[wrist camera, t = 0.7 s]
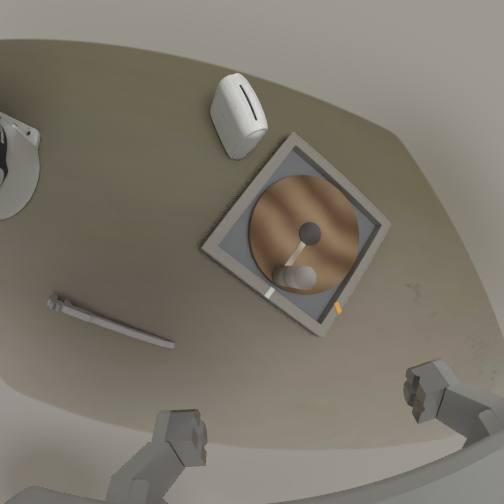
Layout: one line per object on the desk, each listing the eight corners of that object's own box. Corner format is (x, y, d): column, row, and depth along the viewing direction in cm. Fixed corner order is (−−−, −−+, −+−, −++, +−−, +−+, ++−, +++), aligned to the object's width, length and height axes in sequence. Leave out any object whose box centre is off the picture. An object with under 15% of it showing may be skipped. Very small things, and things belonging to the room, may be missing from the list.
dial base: (198, 248, 49) (201, 247, 46) (286, 138, 54) (293, 130, 50) (314, 335, 54) (323, 339, 50) (382, 226, 58) (393, 224, 55)
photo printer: (205, 109, 50) (218, 71, 38) (228, 103, 51) (247, 64, 39) (228, 163, 51) (248, 135, 39) (252, 155, 52) (278, 127, 40)
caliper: (54, 300, 43) (40, 305, 37) (56, 293, 43) (42, 297, 37) (174, 348, 48) (175, 360, 42) (176, 342, 48) (178, 353, 42)
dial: (292, 154, 52) (321, 132, 42) (371, 226, 56) (410, 220, 46) (223, 245, 49) (239, 240, 39) (315, 316, 52) (349, 327, 42)
